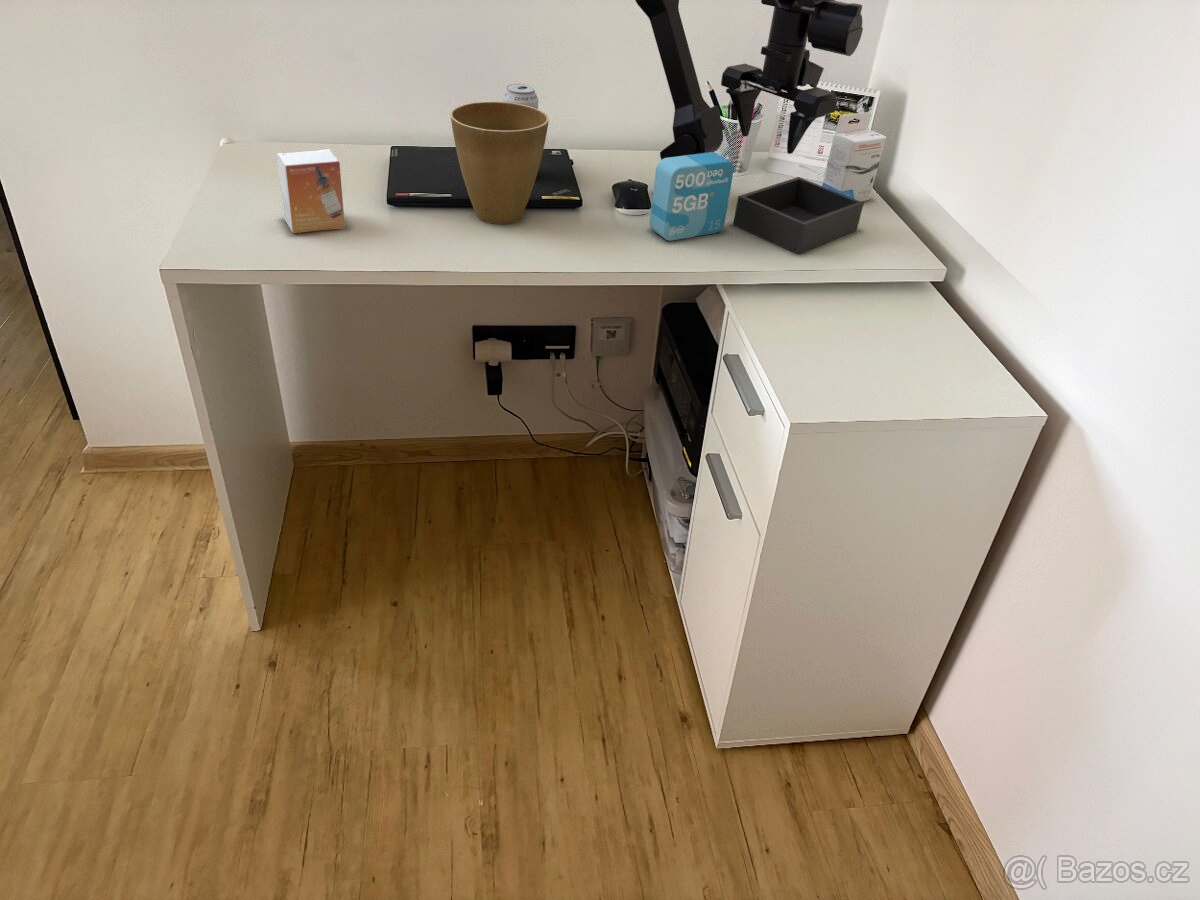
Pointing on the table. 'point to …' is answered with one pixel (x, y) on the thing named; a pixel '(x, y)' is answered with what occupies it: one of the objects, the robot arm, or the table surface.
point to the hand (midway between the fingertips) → (767, 144)
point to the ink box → (854, 157)
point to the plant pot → (499, 155)
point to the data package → (690, 195)
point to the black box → (797, 214)
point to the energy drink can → (521, 95)
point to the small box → (311, 190)
